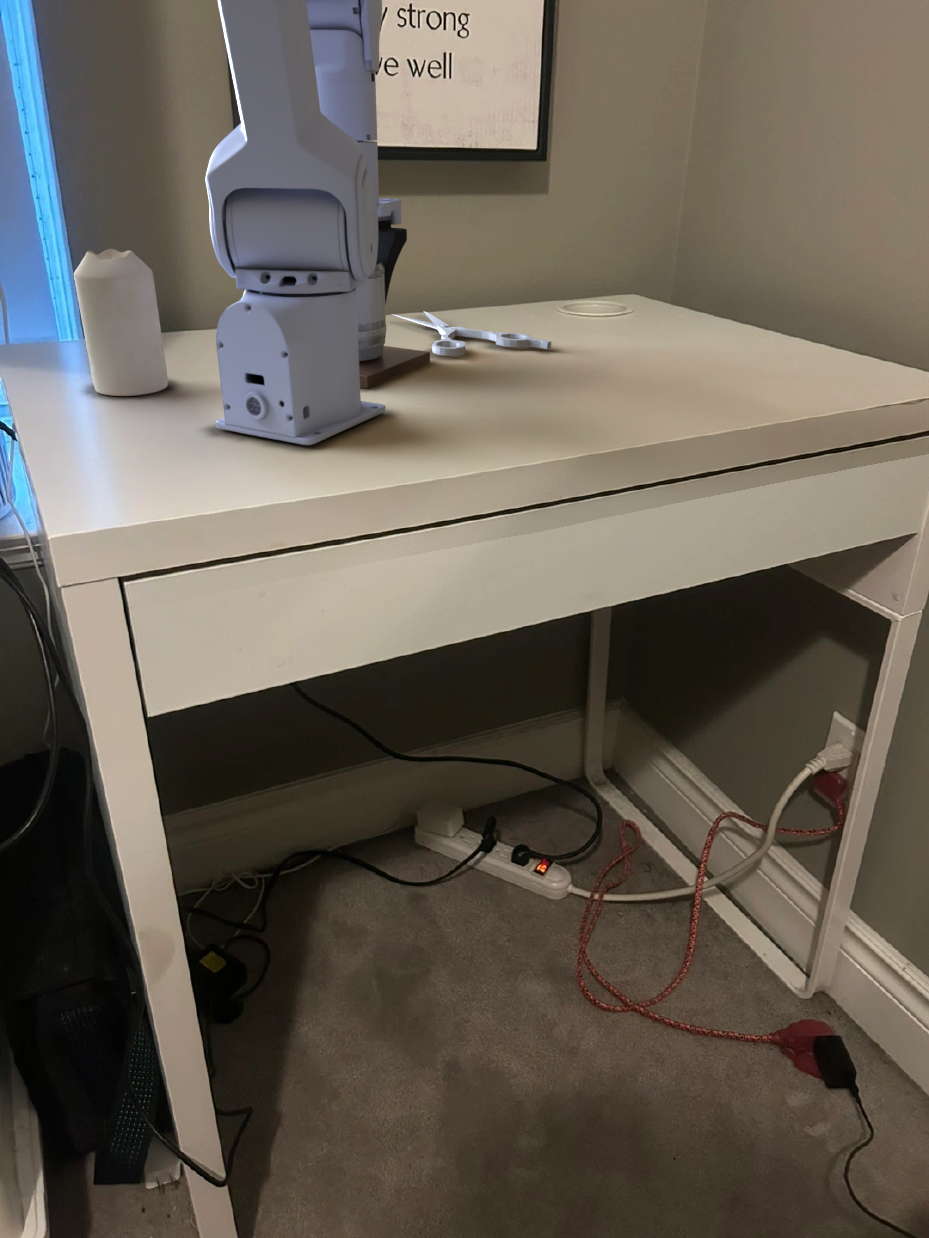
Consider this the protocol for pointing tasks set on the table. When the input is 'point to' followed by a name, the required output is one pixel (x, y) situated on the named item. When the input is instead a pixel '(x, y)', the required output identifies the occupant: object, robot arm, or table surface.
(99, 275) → the candle
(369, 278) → the camera lens
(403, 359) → the walnut board
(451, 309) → the table surface
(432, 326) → the scissors
